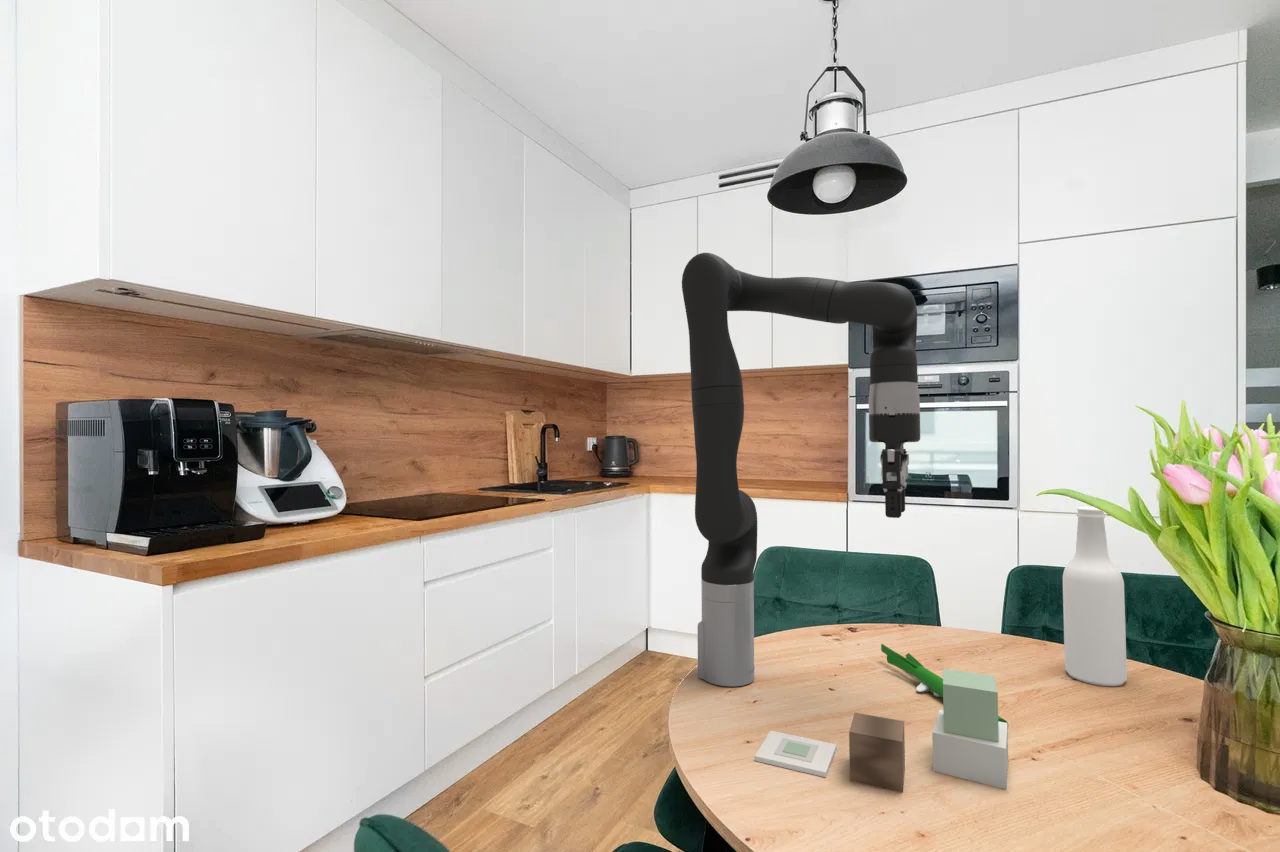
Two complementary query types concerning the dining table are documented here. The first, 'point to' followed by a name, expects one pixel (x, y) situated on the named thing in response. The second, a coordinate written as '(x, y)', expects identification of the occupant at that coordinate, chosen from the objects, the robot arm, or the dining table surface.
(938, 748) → the grey base block
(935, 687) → the green onion
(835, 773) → the dining table surface
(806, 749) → the card
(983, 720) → the sage block
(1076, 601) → the alcohol
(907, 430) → the robot arm
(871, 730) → the walnut block
